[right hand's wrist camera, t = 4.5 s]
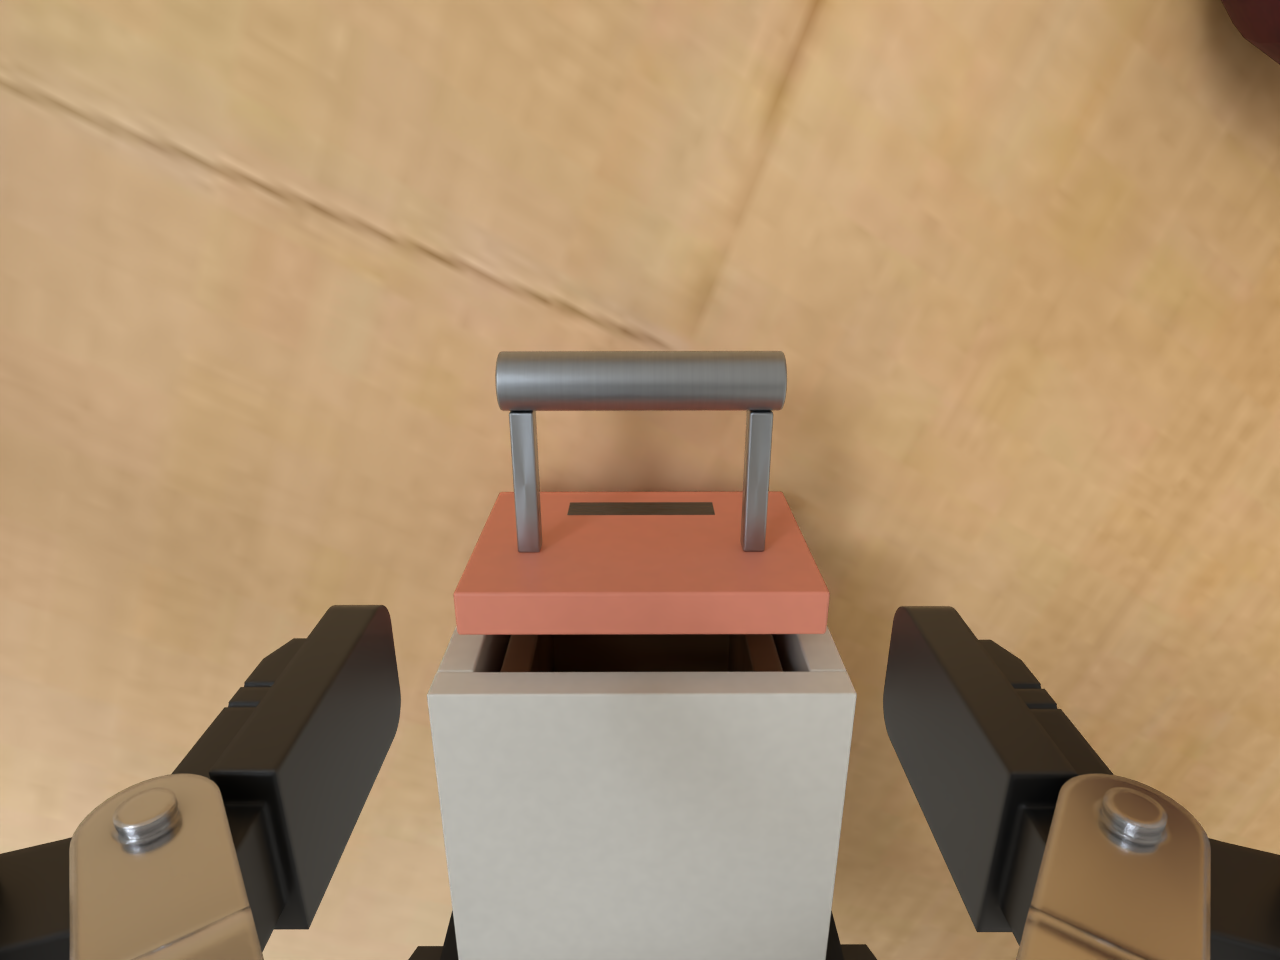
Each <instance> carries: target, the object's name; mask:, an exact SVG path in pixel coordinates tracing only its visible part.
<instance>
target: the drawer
mask: <svg viewBox="0 0 1280 960" xmlns="http://www.w3.org/2000/svg"><path fill="white" fill-rule="evenodd" d="M786 388H787V367H786V360H785V356H784V353H783V352H782V351H568V352H500V353H499V355H498V358H497V362H496V394H497V400H498V404H499V407H500V409H501V410H503V411H510V413H509V421H510V437H511V452H512V468H513V483H514V492H501V493H499V496H498V498H497V500H496V502H495V504H494V506H493V509H492V511H491V513H490V515H489V517H488V520H487V522H486V524H485V526H484V528H483V531H482V533H481V535H480V537H479V539H478V542H477V544H476V546H475V548H474V550H473V553H472V555H471V557H470V559H469V561H468V564H467V566H466V568H465V570H464V572H463V575H462V577H461V579H460V581H459V583H458V586H457V588H456V590H455V592H454V604H455V614H456V624H457V632H458V634H460V635H511V636H510V640H509V643H508V647H507V650H506V654H505V657H504V661H503V664H502V668H501V671H500V672H783V669H782V666H781V662H780V659H779V656H778V652H777V649H776V646H775V642H774V639H773V635H772V634H824V633H825V632H826V627H827V617H828V607H829V597H830V593H829V591H828V589H827V586H826V584H825V582H824V580H823V578H822V576H821V574H820V572H819V569H818V567H817V565H816V563H815V561H814V559H813V557H812V555H811V552H810V550H809V548H808V546H807V544H806V542H805V540H804V537H803V535H802V533H801V531H800V529H799V527H798V525H797V523H796V520H795V518H794V516H793V514H792V512H791V510H790V508H789V505H788V503H787V501H786V499H785V497H784V495H783V493H782V492H768V491H769V475H770V459H771V443H772V427H773V412H772V411H771V410H781V409H782V408H783V405H784V402H785V397H786ZM619 410H747V418H746V438H745V458H744V479H743V492H540V485H539V466H538V446H537V427H536V411H619Z"/></svg>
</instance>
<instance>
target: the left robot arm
mask: <svg viewBox="0 0 1280 960" xmlns="http://www.w3.org/2000/svg"><path fill="white" fill-rule="evenodd" d="M409 960H459V959H458V950H457V942H456V934H455V925H454V917H453V911H452V914H451V918H450V922H449V926H448V930H447V934H446V938H445V942H444V946H418V947H417V949H416V950H415V951H414V953H413V954H412V955H411V957H410V958H409ZM826 960H877V959H876V957H875V956H874V955H873V953H872V952H871V951H870V949H869V948H868V947H867V945H866V944H865V945H840V941H839V937H838V933H837V930H836V926H835V922H834V918H833V914H832V911H831V917H830V926H829V934H828V943H827V951H826Z"/></svg>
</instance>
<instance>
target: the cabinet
mask: <svg viewBox="0 0 1280 960" xmlns="http://www.w3.org/2000/svg"><path fill="white" fill-rule="evenodd" d="M772 635H773V639H774V642H775V646H776V649H777V652H778V656H779V659H780V662H781V666H782V669H783V672H500V671H501V668H502V664H503V661H504V657H505V654H506V650H507V647H508V643H509V640H510V636H511V635H460V634H458V632H457V625H456V628H455V630H454V632H453V635H452V637H451V640H450V642H449V644H448V647H447V649H446V652H445V654H444V656H443V659H442V661H441V664H440V666H439V668H438V671H437V673H436V675H435V677H434V679H433V682H432V684H431V687H430V689H429V691H428V694H427V700H428V708H429V716H430V725H431V733H432V742H433V750H434V758H435V767H436V775H437V783H438V792H439V800H440V808H441V817H442V825H443V833H444V842H445V850H446V858H447V867H448V875H449V883H450V892H451V900H452V908H453V917H454V925H455V934H456V942H457V950H458V959H459V960H826V951H827V943H828V934H829V926H830V917H831V909H832V900H833V892H834V883H835V875H836V866H837V858H838V849H839V841H840V832H841V824H842V815H843V807H844V798H845V790H846V781H847V773H848V764H849V756H850V747H851V739H852V730H853V722H854V713H855V705H856V696H857V694H856V691H855V689H854V687H853V684H852V682H851V680H850V677H849V675H848V673H847V671H846V668H845V666H844V664H843V661H842V659H841V657H840V654H839V652H838V650H837V647H836V645H835V643H834V640H833V638H832V636H831V633H830V631H829V629H828V626H827V627H826V632H825V633H824V634H772Z"/></svg>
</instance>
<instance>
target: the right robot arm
mask: <svg viewBox="0 0 1280 960" xmlns="http://www.w3.org/2000/svg"><path fill="white" fill-rule="evenodd" d="M244 683H245V685H244V687H241V688H240V689H239V690H238V691H237V693H236V694H235V695H234V696H233V698H232V699H231V700H230V701H229V706H228V707H225V708H224V709H223V710H222V711H221V713H220V714H219V715H218V716H217V718H216V719H215V720H214V721H213V723H212V724H211V725H210V726H209V728H208V729H207V730H206V731H205V733H204V734H203V735H202V736H201V738H200V739H199V740H198V741H197V743H196V744H195V745H194V746H193V748H192V749H191V750H190V751H189V753H188V754H187V755H186V756H185V758H184V759H183V760H182V762H181V763H180V764H179V765H178V767H177V768H176V769H175V770H174V772H173V773H172V774H171V775H165V776H160V777H156V778H153V779H149V780H146V781H143V782H140V783H138V784H135V785H133V786H131V787H129V788H127V789H125V790H123V791H121V792H119V793H117V794H115V795H114V796H112V797H110V798H109V799H107V800H106V801H104V802H103V803H102V804H100V805H99V806H98V807H96V808H95V809H94V810H93V811H92V812H91V813H90V814H89V815H87V817H86V818H85V819H84V820H83V821H82V822H81V823H80V825H79V826H78V828H77V829H76V831H75V832H74V834H73V837H71V838H68V839H63V840H59V841H55V842H50V843H46V844H42V845H37V846H33V847H29V848H24V849H20V850H16V851H11V852H7V853H3V854H0V960H264V958H263V955H262V952H263V950H264V948H265V946H266V944H267V942H268V940H269V938H270V935H271V933H272V931H273V929H309V927H310V925H311V923H312V920H313V918H314V916H315V914H316V911H317V909H318V907H319V905H320V903H321V900H322V898H323V896H324V894H325V891H326V889H327V887H328V885H329V882H330V880H331V878H332V876H333V873H334V871H335V869H336V867H337V864H338V862H339V860H340V858H341V855H342V853H343V851H344V849H345V846H346V844H347V842H348V840H349V838H350V835H351V833H352V831H353V829H354V826H355V824H356V822H357V820H358V817H359V815H360V813H361V811H362V808H363V806H364V804H365V802H366V799H367V797H368V795H369V793H370V790H371V788H372V786H373V784H374V781H375V779H376V777H377V775H378V773H379V770H380V768H381V766H382V764H383V761H384V759H385V757H386V755H387V752H388V750H389V748H390V746H391V743H392V741H393V739H394V737H395V734H396V731H397V727H398V723H399V717H400V706H401V696H400V686H399V678H398V671H397V663H396V656H395V648H394V641H393V633H392V626H391V619H390V615H389V612H388V610H387V608H386V607H385V606H383V605H334V606H332V607H330V608H329V609H328V610H327V612H326V613H325V615H324V616H323V617H322V619H321V620H320V621H319V623H318V624H317V625H316V627H315V628H314V629H313V631H312V632H311V634H310V635H309V636H308V638H307V639H292V640H291V641H289V642H288V643H286V644H285V645H283V646H282V647H280V648H279V649H277V650H276V651H274V652H273V653H271V654H270V655H268V656H267V657H265V658H264V659H263V660H262V661H261V662H260V664H259V665H258V666H257V667H256V669H255V670H254V671H253V672H252V674H251V675H250V676H249V677H248V679H247V680H246V681H245V682H244ZM883 710H884V719H885V725H886V729H887V733H888V736H889V738H890V740H891V743H892V745H893V747H894V749H895V752H896V754H897V756H898V758H899V760H900V763H901V765H902V767H903V769H904V771H905V774H906V776H907V778H908V780H909V783H910V785H911V787H912V789H913V791H914V794H915V796H916V798H917V800H918V802H919V805H920V807H921V809H922V811H923V813H924V816H925V818H926V820H927V822H928V825H929V827H930V829H931V831H932V833H933V836H934V838H935V840H936V842H937V844H938V847H939V849H940V851H941V853H942V855H943V858H944V860H945V862H946V864H947V867H948V869H949V871H950V873H951V875H952V878H953V880H954V882H955V884H956V886H957V889H958V891H959V893H960V895H961V898H962V900H963V902H964V904H965V906H966V909H967V911H968V913H969V915H970V917H971V920H972V922H973V924H974V926H975V928H976V931H977V932H1013V934H1014V936H1015V938H1016V940H1017V942H1018V944H1019V946H1020V947H1019V951H1018V955H1017V958H1016V960H1280V855H1277V854H1273V853H1268V852H1264V851H1260V850H1255V849H1251V848H1247V847H1242V846H1238V845H1234V844H1229V843H1225V842H1221V841H1217V840H1214V839H1210V838H1208V837H1207V834H1206V832H1205V831H1204V829H1203V828H1202V826H1201V825H1200V823H1199V822H1198V821H1197V820H1196V819H1195V818H1194V817H1193V815H1191V814H1190V813H1189V812H1188V811H1187V810H1186V809H1185V808H1184V807H1182V806H1181V805H1180V804H1178V803H1177V802H1176V801H1174V800H1173V799H1171V798H1170V797H1168V796H1166V795H1165V794H1163V793H1161V792H1159V791H1157V790H1155V789H1153V788H1151V787H1149V786H1147V785H1145V784H1142V783H1140V782H1137V781H1134V780H1131V779H1127V778H1124V777H1120V776H1115V775H1113V773H1112V772H1111V771H1110V770H1109V768H1108V767H1107V766H1106V765H1105V763H1104V762H1103V761H1102V760H1101V758H1100V757H1099V756H1098V755H1097V753H1096V752H1095V751H1094V750H1093V749H1092V747H1091V746H1090V745H1089V744H1088V742H1087V741H1086V740H1085V739H1084V737H1083V736H1082V735H1081V734H1080V732H1079V731H1078V730H1077V729H1076V727H1075V726H1074V725H1073V724H1072V722H1071V721H1070V720H1069V719H1068V717H1067V716H1066V715H1065V714H1064V713H1063V711H1062V710H1061V709H1057V704H1056V703H1055V701H1054V700H1053V699H1052V698H1051V696H1050V695H1049V694H1048V693H1047V691H1046V690H1045V689H1041V684H1040V683H1039V681H1038V680H1037V679H1036V678H1035V676H1034V675H1033V674H1032V673H1031V672H1030V670H1029V669H1028V668H1027V667H1026V665H1025V664H1024V663H1023V662H1022V660H1020V659H1019V658H1017V657H1016V656H1014V655H1013V654H1011V653H1010V652H1008V651H1007V650H1005V649H1004V648H1002V647H1001V646H999V645H998V644H996V643H995V642H993V641H992V640H978V639H977V638H976V637H975V635H974V634H973V633H972V631H971V630H970V629H969V627H968V626H967V625H966V623H965V622H964V620H963V619H962V618H961V616H960V615H959V614H958V612H957V611H956V610H955V609H954V608H953V607H950V606H902V607H899V608H898V609H897V611H896V613H895V616H894V620H893V627H892V634H891V642H890V649H889V657H888V664H887V671H886V679H885V686H884V695H883Z"/></svg>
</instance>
